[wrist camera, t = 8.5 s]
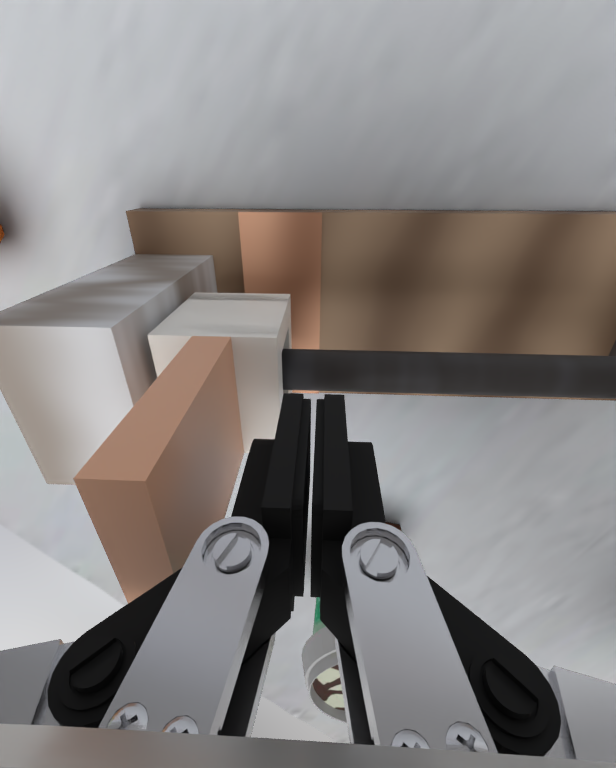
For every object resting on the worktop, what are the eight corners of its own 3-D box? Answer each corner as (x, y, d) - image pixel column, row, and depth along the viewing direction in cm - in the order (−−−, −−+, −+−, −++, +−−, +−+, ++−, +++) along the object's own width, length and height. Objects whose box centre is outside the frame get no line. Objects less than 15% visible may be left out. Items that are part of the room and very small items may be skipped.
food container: (337, 492, 29) (340, 631, 20) (408, 513, 29) (441, 655, 21) (289, 578, 35) (276, 713, 26) (349, 593, 35) (356, 729, 27)
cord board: (701, 212, 18) (1175, 262, 8) (614, 387, 23) (835, 554, 13) (139, 208, 19) (-70, 248, 9) (174, 376, 24) (65, 521, 14)
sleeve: (290, 293, 15) (230, 484, 6) (292, 389, 17) (252, 633, 8) (194, 292, 15) (-10, 475, 6) (209, 387, 17) (78, 623, 8)
